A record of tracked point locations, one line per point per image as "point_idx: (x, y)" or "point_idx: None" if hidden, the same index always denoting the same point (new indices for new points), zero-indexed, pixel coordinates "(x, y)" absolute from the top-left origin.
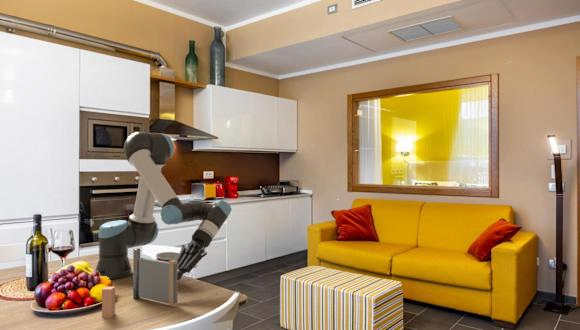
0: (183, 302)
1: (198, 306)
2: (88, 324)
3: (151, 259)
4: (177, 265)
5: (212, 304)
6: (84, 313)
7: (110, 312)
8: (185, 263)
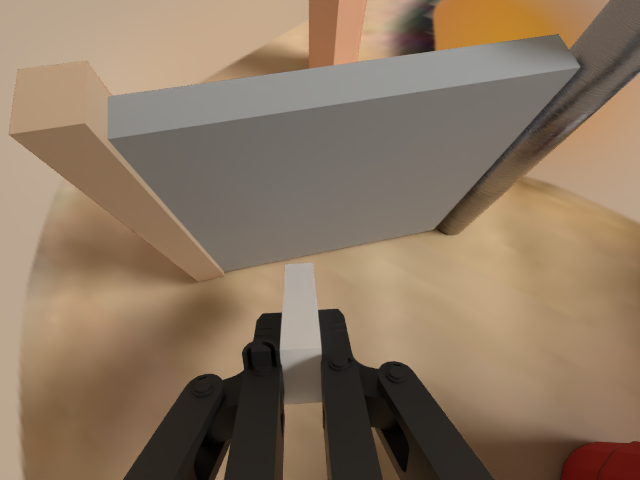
0: (218, 337)
1: (102, 356)
2: (305, 21)
3: (433, 79)
4: (348, 382)
5: (49, 436)
6: (408, 45)
7: (310, 59)
8: (234, 434)
